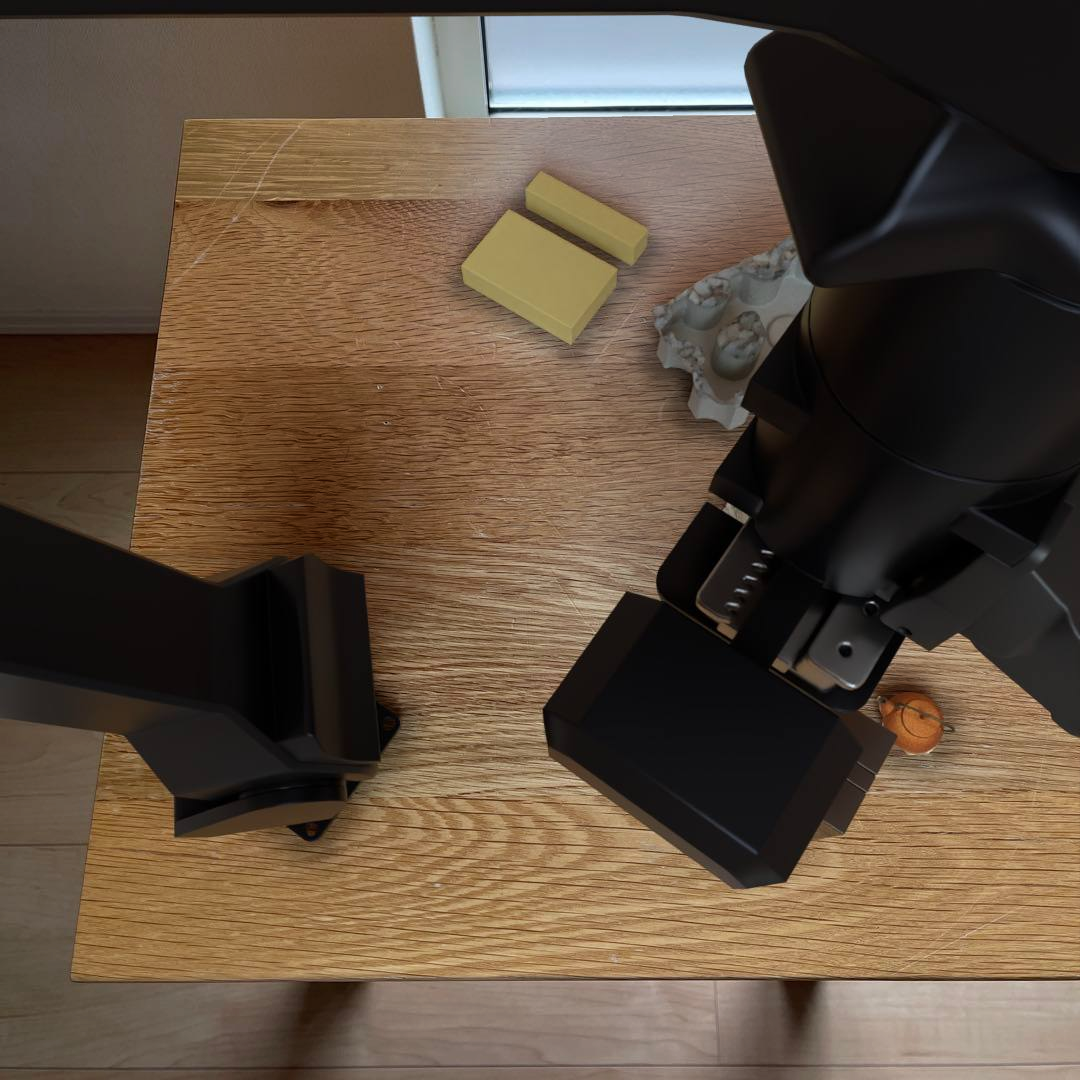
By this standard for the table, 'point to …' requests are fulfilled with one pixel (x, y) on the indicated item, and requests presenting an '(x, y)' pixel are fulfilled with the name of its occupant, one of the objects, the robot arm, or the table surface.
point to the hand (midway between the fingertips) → (776, 596)
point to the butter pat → (586, 218)
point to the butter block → (539, 276)
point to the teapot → (913, 722)
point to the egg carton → (731, 328)
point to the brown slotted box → (857, 772)
